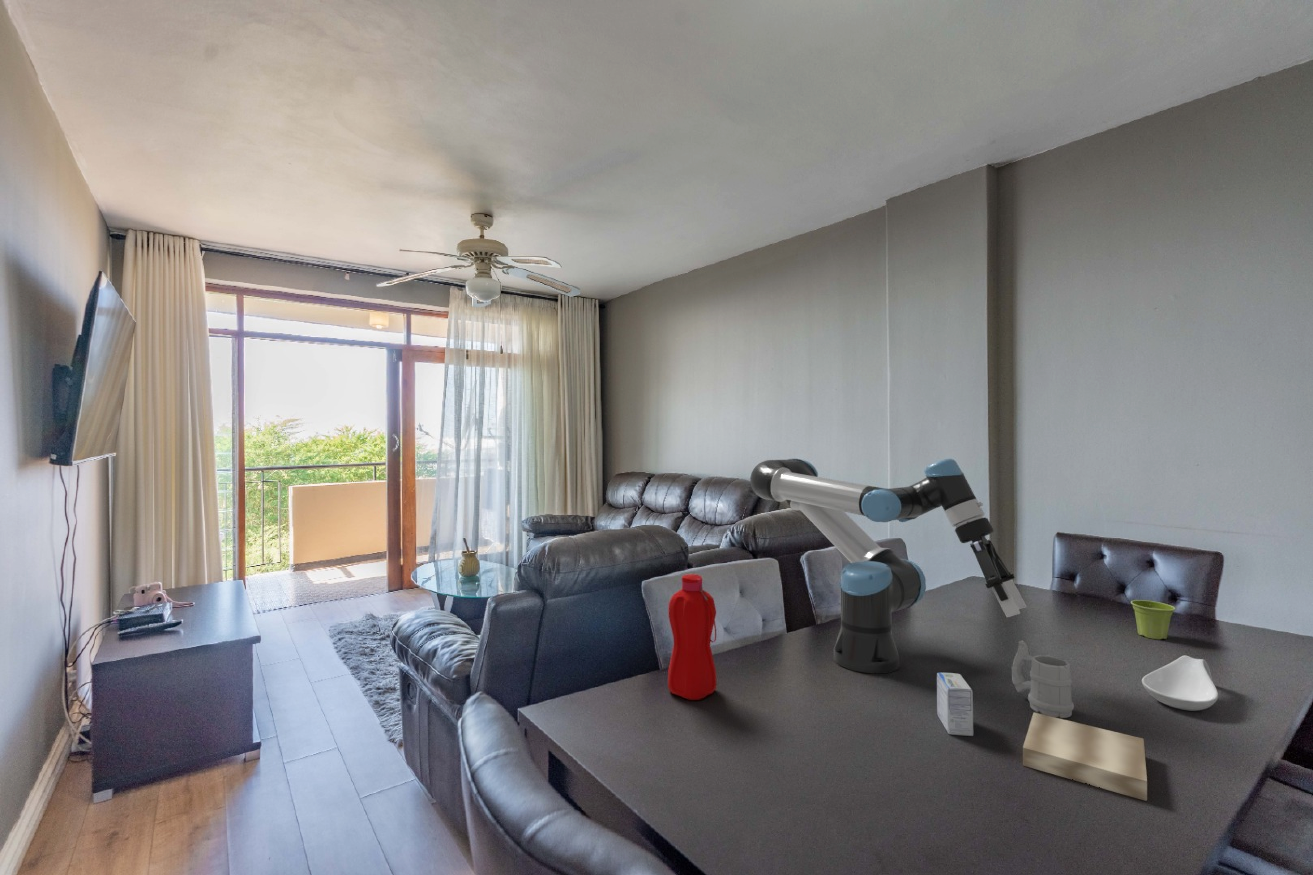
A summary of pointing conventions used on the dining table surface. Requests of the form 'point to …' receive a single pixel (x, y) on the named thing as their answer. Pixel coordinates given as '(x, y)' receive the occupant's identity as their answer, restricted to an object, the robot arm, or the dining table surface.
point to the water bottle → (692, 640)
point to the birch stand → (1087, 755)
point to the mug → (1044, 682)
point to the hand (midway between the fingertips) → (1017, 612)
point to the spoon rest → (1183, 684)
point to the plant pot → (1152, 618)
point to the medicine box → (955, 704)
